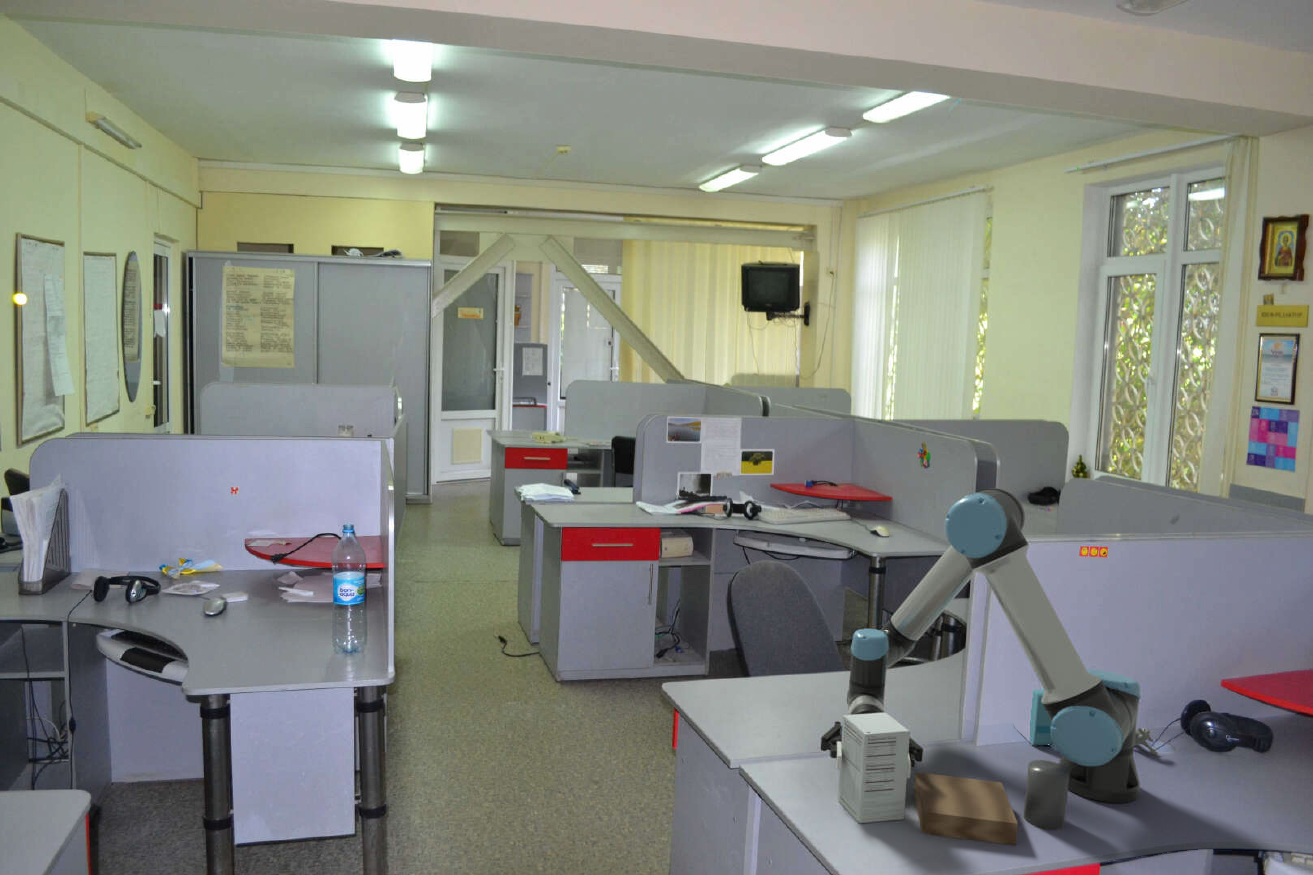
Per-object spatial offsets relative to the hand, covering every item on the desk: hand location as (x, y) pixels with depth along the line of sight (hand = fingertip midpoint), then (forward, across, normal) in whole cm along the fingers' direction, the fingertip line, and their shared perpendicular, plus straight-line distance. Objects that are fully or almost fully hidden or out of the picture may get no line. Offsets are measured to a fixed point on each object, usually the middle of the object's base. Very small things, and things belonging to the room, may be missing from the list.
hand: (873, 766), depth 179 cm
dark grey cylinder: (-6, -32, -9) cm, 34 cm away
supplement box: (-2, 0, -9) cm, 9 cm away
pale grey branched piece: (-46, -59, -10) cm, 75 cm away
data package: (-46, -38, -9) cm, 61 cm away
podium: (-3, -17, -9) cm, 19 cm away
